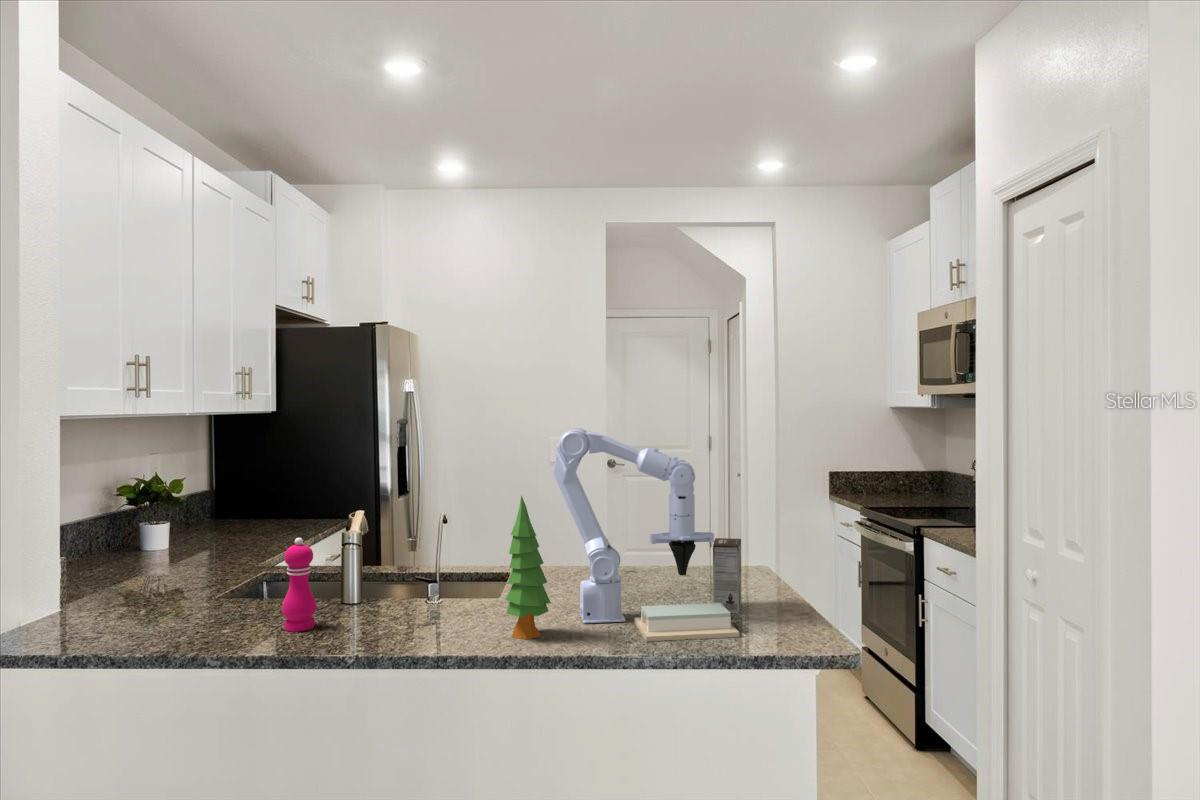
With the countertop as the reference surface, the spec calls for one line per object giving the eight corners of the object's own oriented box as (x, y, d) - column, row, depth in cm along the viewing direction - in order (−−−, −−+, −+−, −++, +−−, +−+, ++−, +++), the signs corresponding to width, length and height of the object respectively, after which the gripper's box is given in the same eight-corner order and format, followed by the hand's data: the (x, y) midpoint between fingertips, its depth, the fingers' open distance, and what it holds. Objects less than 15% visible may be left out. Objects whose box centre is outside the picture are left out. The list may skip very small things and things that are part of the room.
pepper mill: (284, 634, 175) (283, 541, 174) (280, 625, 181) (279, 536, 181) (319, 629, 178) (318, 538, 178) (314, 621, 184) (313, 533, 184)
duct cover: (648, 620, 172) (648, 616, 172) (641, 609, 180) (641, 606, 180) (730, 616, 174) (730, 613, 174) (720, 606, 182) (720, 602, 182)
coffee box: (715, 602, 199) (714, 537, 199) (741, 603, 198) (741, 538, 197) (712, 612, 190) (712, 544, 190) (740, 614, 189) (740, 545, 188)
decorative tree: (510, 628, 178) (509, 492, 178) (552, 628, 178) (552, 492, 178) (503, 642, 169) (502, 498, 168) (548, 642, 168) (548, 498, 168)
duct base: (646, 641, 169) (646, 624, 169) (634, 622, 183) (634, 606, 183) (739, 637, 171) (739, 620, 171) (720, 618, 185) (720, 603, 185)
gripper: (654, 518, 179) (654, 579, 179) (717, 516, 181) (718, 577, 181) (647, 513, 186) (648, 572, 186) (709, 511, 188) (709, 570, 188)
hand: (682, 574), depth 184 cm, fingers closed
